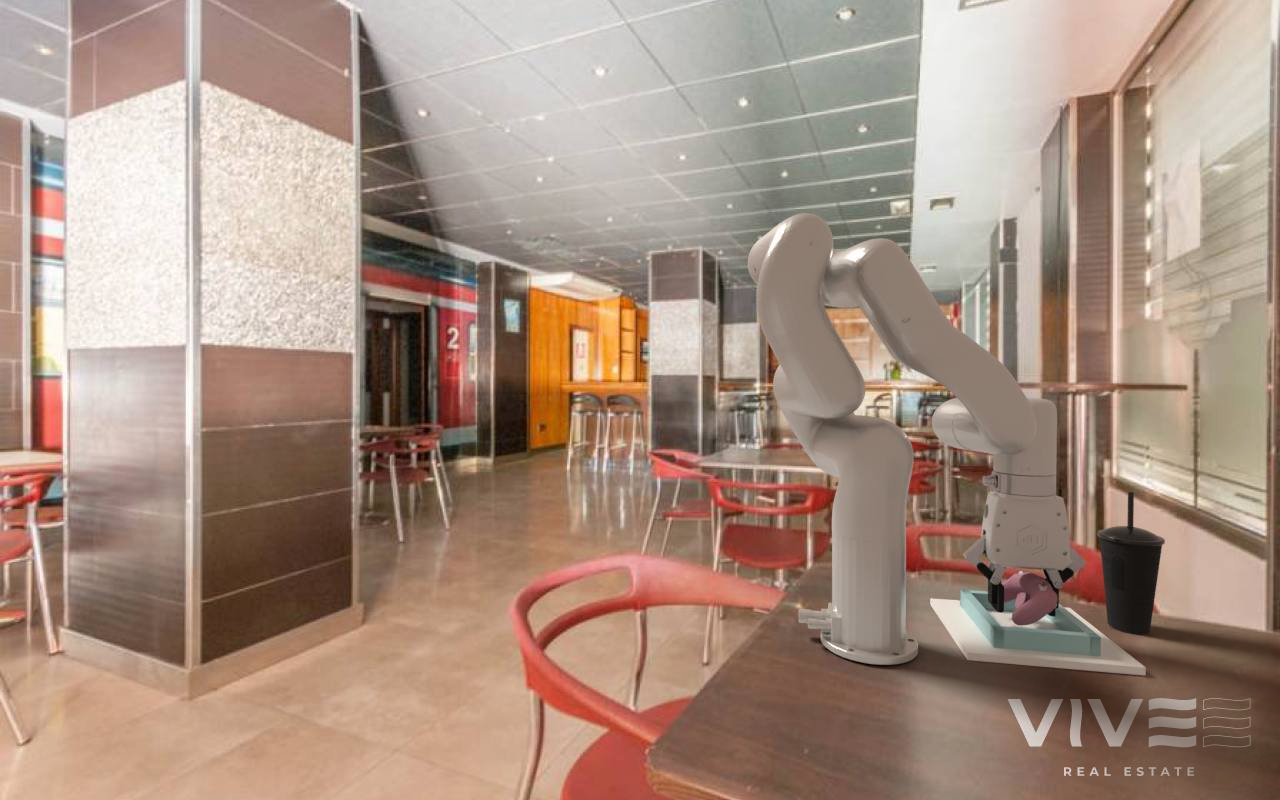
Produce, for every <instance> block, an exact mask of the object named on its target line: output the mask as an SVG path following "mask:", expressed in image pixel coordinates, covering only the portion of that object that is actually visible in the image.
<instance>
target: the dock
mask: <svg viewBox="0 0 1280 800" xmlns="http://www.w3.org/2000/svg"><path fill="white" fill-rule="evenodd" d="M1015 601H1016V599H1014V600H1011V601H1009V602H1006V603H1004V612H1002V613H999V612H997V611H996V610H995V609H994V608H993V607H992V605H991V604H990V603H989V602H988V590H986V591H985V590H972V589H971V590H970V589H960V590H959V600H958V599H943V598H932V597H931V598H930V606H931V607H932V609H933V611H934V612H935V614H936V615H937V617H938V618H939V620H940V621H941V623H942V624H943V626H944V627H945V629H946V630H947V633H949V635H950V637H951V638H952V639H953V640H954V642H955V643H956V645H957V646H958V649H959V650H960V651H961V653H962V654H963V655H964V656H963V657H965V658H966V660H967V661H973V662H984V663H985V662H986V663H995V664H997V663H998V664H1007V665H1008V664H1009V665H1018V666H1019V665H1020V666H1032V667H1040V668H1041V667H1043V668H1054V669H1065V670H1078V671H1085V672H1086V671H1088V672H1098V673H1099V672H1101V673H1110V674H1124V675H1134V676H1135V675H1136V676H1145V677H1146V676H1147V674H1146V671H1147V668H1146V666H1145V665H1143V664H1142V663H1140V662H1139V661H1138V660H1137V659H1135V658H1134V657H1133V656H1132V655H1130V654H1129V653H1128V652H1126V651H1125V650H1124V649H1123V648H1122V647H1120V646H1119V645H1118V644H1116V643H1115V642H1114V641H1112V640H1111V639H1110V638H1109V637H1107V636H1106V635H1105V634H1104V633H1103V632H1101V631H1100V630H1099V629H1097V628H1096V627H1095V626H1094V625H1092V624H1091V623H1090V622H1089V621H1087V620H1086V619H1084V618H1083V617H1082V616H1081V615H1079V614H1078V612H1076V611H1074V610H1073V609H1072V608H1071V607H1066V606H1065V607H1064V606H1063V605H1061V604H1060V603H1059V607H1058V609H1056V614H1055V616H1050V615H1048V614H1046V615H1045V616H1044V617H1043V618H1041V619H1040V620H1039V621H1037V622H1035V623H1033V624H1030V625H1022V626H1020V625H1016V624H1015V623H1014V622H1013V621H1012V614H1013V612H1014V611H1015V610H1016V609H1017V608H1016V607H1015Z"/></svg>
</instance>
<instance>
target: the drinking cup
mask: <svg viewBox="0 0 1280 800" xmlns="http://www.w3.org/2000/svg"><path fill="white" fill-rule="evenodd" d="M1134 502H1135V493H1134V492H1133V491H1128V492H1127V519H1126V520H1127V521H1126V522H1127V523H1126V525H1117V526H1111V527H1107V528H1104V529H1099V530H1097V531H1096V532H1097V534H1096V535H1097V537H1099V543H1100V544H1099V545H1100V556H1101V566H1102V574H1103V575H1102V577H1103V578H1102V579H1103V586H1104V587H1103V588H1104V597H1105V609H1106V620H1107V621H1106V622H1107V625H1108V624H1109V625H1110V626H1112V627H1113V629H1114V628H1115V629H1114V630H1116V629H1118V630H1117V631H1119V630H1121V631H1120V632H1123V631H1124V633H1127V632H1128V634H1132V633H1133V634H1134V635H1147V634H1150V632H1151V627H1152V626H1151V625H1152V620H1153V619H1152V618H1153V612H1154V605H1155V599H1156V593H1157V592H1156V591H1157V585H1158V584H1157V583H1158V577H1159V576H1158V575H1159V571H1160V562H1161V554H1162V549H1163V546H1164V545H1165V544H1166V541H1165V538H1164V537H1162V536H1160V535H1158V534H1155V533H1153V532H1152V531H1149V530H1146V529H1144V528H1139V527H1135V526H1134V518H1135V517H1134V515H1135V514H1134V507H1135V506H1134V505H1135V503H1134ZM1109 625H1108V626H1109ZM1110 626H1109V627H1110ZM1112 627H1111V628H1112ZM1133 634H1132V635H1133Z"/></svg>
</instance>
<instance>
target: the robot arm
mask: <svg viewBox="0 0 1280 800" xmlns="http://www.w3.org/2000/svg"><path fill="white" fill-rule="evenodd" d="M747 270H748V273H749V276H750V277H751V280H752V281H754V284H756V285H757V289H756V290H757V291H756V311H757V317H758V321H759V325H760V327H761V330H762V333H763V335H764V337H765V339H766V341H767V343H768V345H769V346H770V348H771V350H772V352H773V354H774V356H775V358H776V360H777V362H778V364H779V365H778V367H777V368H776V370H775V372H774V376H773V382H772V387H773V388H772V389H773V395H774V397H775V401H776V402H777V403H776V404H777V406H778V407H779V409H780V411H781V413H782V415H783V417H784V418H785V420H786V421H787V423H788V425H789V426H790V428H791V429H792V431H793V433H794V434H795V436H796V438H797V440H798V442H799V443H800V445H801V446H802V447H803V449H804V452H805V453H806V454H807V455H808V457H809V459H810V460H811V461H812V463H813V464H814V465H815V466H816V467H817V468H818V469H820V470H821V471H822V472H824V473H825V474H826V473H827V474H828V475H830V476H833V477H836V478H838V483H837V485H836V486H837V487H836V491H835V495H834V498H833V503H832V510H831V513H832V514H831V548H832V549H831V558H832V559H831V566H832V567H831V574H832V575H831V602H828V604H827V605H828V607H827V608H821V609H820V610H812V609H808V608H806V609H805V608H798V623H799V624H807V629H811V630H820V641H821V644H822V645H823V646H824V648H826V649H828V650H829V651H830V652H832V653H833V654H835V655H837V656H839V657H841V658H844V659H847V660H850V661H853V662H859V663H863V664H868V665H878V666H891V665H893V666H894V665H899V664H905V663H908V662H910V661H912V660H914V659H915V658H916V657H917V655H918V654H919V644H918V641H917V639H916V638H915V637H914V636H913V635H911V633H909V632H907V629H906V628H907V627H906V622H907V621H906V620H907V619H906V615H907V614H906V612H907V611H906V608H907V605H906V604H907V603H906V602H907V601H906V600H907V599H906V598H907V591H906V590H907V587H906V585H907V578H906V577H907V535H906V534H907V532H906V531H907V528H906V527H907V504H908V502H907V501H908V495H909V489H910V483H911V479H912V473H913V468H914V456H915V455H914V454H915V453H914V449H913V445H912V443H911V440H910V438H909V436H908V434H906V432H905V431H904V430H903V429H902V428H901V427H900V426H898V425H897V424H896V423H895V422H892V421H890V420H887V419H885V418H881V417H879V416H878V417H877V416H869V415H860V414H856V413H854V412H855V411H857V410H858V409H859V408H860V407H861V406H862V404H863V402H864V399H865V396H866V383H865V379H864V377H863V374H862V372H861V370H860V368H859V367H858V365H857V363H856V362H855V360H854V358H853V356H852V355H851V353H850V352H849V350H848V348H847V347H846V345H845V343H844V342H843V340H842V338H841V337H840V335H839V333H838V331H837V330H836V328H835V326H834V325H833V322H832V320H831V318H830V317H829V314H828V311H827V309H826V306H828V307H833V308H840V309H852V308H856V307H859V309H860V310H861V312H862V313H863V315H864V316H865V318H866V320H867V321H868V322H869V324H870V326H871V327H872V328H873V330H874V331H875V332H876V334H877V336H878V337H879V339H880V341H881V342H882V344H883V345H884V347H885V349H886V350H887V351H888V353H889V355H890V356H891V357H892V358H893V359H894V360H896V362H898V363H900V364H901V365H903V366H904V367H907V368H909V369H911V370H913V371H915V372H917V373H919V374H922V375H924V376H926V377H928V378H930V379H932V380H934V381H935V382H937V383H938V384H940V385H941V386H943V387H944V388H946V389H947V390H948V391H949V392H950V393H951V394H952V395H953V396H955V397H954V398H952V399H948V400H946V401H943V402H942V403H941V404H940V405H938V407H937V408H936V409H935V410H934V413H933V415H932V419H931V427H932V430H933V433H934V435H935V436H936V438H938V440H939V441H941V442H942V443H943V444H945V445H947V446H949V447H952V448H955V449H959V450H966V451H969V452H970V451H971V452H978V453H985V454H990V455H993V470H992V471H991V474H990V475H987V476H986V475H983V476H982V479H981V480H982V485H983V486H989V487H991V489H992V490H993V491H989V492H988V493H987V494H988V495H987V497H986V501H985V506H984V511H983V516H982V517H983V518H982V526H981V536H980V538H978V539H977V540H976V541H975V542H974V543H973V544H972V545H970V546H969V548H967V549H966V550H965V551H964V552H963V553H962V555H963V557H964V558H965V559H966V561H968V562H969V563H970V564H971V565H972V566H973V567H974V568H976V569H977V570H978V571H979V572H980V573H981V575H983V576H984V577H985V578H986V579H987V591H988V602H989V603H990V604H991V605H992V607H993V608H994V609H995V610H996V611H997V612H999V613H1002V612H1004V586H1003V585H1002V578H1003V576H1004V573H1005V571H1006V570H1007V568H1013V569H1027V570H1041V572H1042V573H1043V576H1044V577H1043V578H1044V579H1045V580H1047V581H1048V583H1049V584H1050V585H1051V587H1052V589H1053V591H1054V592H1055V593H1056V594H1057V598H1058V599H1057V606H1056V608H1054V609H1053V611H1052V612H1050V613H1049V614H1048V615H1050V616H1055V614H1056V609H1058V607H1059V604H1060V603H1059V601H1060V589H1062V588H1063V587H1064V583H1066V582H1067V581H1069V580H1070V579H1071V578H1072V577H1073V576H1074V574H1075V573H1078V571H1080V570H1081V569H1083V568H1084V567H1085V566H1086V565H1087V561H1086V560H1085V559H1084V558H1083V557H1082V556H1081V555H1080V554H1079V553H1078V552H1077V551H1076V550H1075V549H1074V548H1073V547H1072V546H1071V540H1070V539H1071V538H1070V530H1069V522H1068V521H1069V520H1068V515H1067V509H1066V504H1065V500H1064V497H1062V496H1058V495H1057V461H1058V460H1057V458H1058V457H1057V451H1058V450H1057V448H1058V447H1057V446H1058V445H1057V443H1058V440H1057V439H1058V435H1057V434H1058V409H1057V406H1056V404H1055V402H1053V401H1052V400H1049V399H1045V398H1030V397H1029V398H1028V397H1027V396H1026V395H1025V392H1024V391H1023V390H1022V388H1021V385H1019V383H1018V382H1017V380H1016V379H1015V378H1014V376H1013V374H1012V373H1011V371H1009V369H1008V368H1007V367H1006V366H1005V365H1004V364H1003V363H1002V362H1001V361H1000V360H999V359H998V358H996V357H995V355H993V354H991V352H989V351H988V350H987V349H985V348H984V347H982V346H981V345H980V344H979V343H978V342H976V341H975V340H974V339H972V338H971V337H970V336H968V335H967V334H966V333H964V332H962V331H961V330H959V329H958V328H956V327H955V326H954V325H953V323H951V321H950V319H948V317H947V315H946V314H945V313H944V310H942V307H941V306H940V305H939V303H938V302H937V300H936V299H935V296H934V295H933V293H932V292H931V291H930V289H929V288H928V286H927V284H926V283H925V281H924V280H923V278H922V276H920V274H919V272H918V270H917V269H916V267H915V266H914V264H913V263H912V261H911V260H910V258H909V257H908V255H907V254H906V252H905V251H904V249H903V247H902V246H900V245H899V244H898V243H896V242H895V241H893V240H891V239H889V238H883V237H882V238H881V237H880V238H871V239H867V240H864V241H862V242H859V243H857V244H855V245H852V246H851V247H849V248H846V249H843V250H842V249H835V248H834V238H833V233H832V230H831V228H830V226H829V225H828V223H827V222H826V221H825V220H824V219H823V218H822V217H821V216H819V215H817V214H814V213H807V212H803V213H798V214H794V215H792V216H789V217H787V218H786V219H784V220H782V221H781V222H780V223H777V225H775V226H774V227H773V228H772V229H771V230H770V231H768V232H767V233H766V234H764V235H763V236H761V237H760V238H759V239H758V240H757V241H756V242H755V243H754V245H752V247H751V249H750V251H749V253H748V257H747ZM981 554H982V555H983V556H984V557H986V558H987V559H988V561H989V563H988V564H987V565H986V564H985V563H984V562H983V561H982V560H981V559H980V557H979V556H980V555H981Z"/></svg>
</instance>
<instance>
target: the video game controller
mask: <svg viewBox="0 0 1280 800" xmlns="http://www.w3.org/2000/svg"><path fill="white" fill-rule="evenodd" d="M1001 584H1002V585H1003V586H1004V603H1006V602H1009V601H1011V600H1014V599H1016V601H1015V607H1016V608H1017V609H1016V610H1015V611H1014V612H1013V614H1012V621H1013V622H1014V623H1015V624H1016V625H1020V626H1022V625H1030V624H1033V623H1035V622H1037V621H1039V620H1040V619H1041V618H1043V617H1044V616H1045V615H1046V614H1049V613H1050V612H1052V611H1053V609H1054V608H1056V606H1057V599H1058V598H1057V594H1056V593H1055V592H1054V591H1053V589H1052V587H1051V585H1050V584H1049V583H1048V581H1047V580H1045V577H1042V576H1040V575H1038V574H1035V573H1032V572H1024V571H1023V570H1020V571H1018V573H1014V574H1013V575H1011V576H1010V577H1009V578H1008V579H1006V580H1005V581H1004V582H1003V583H1002V582H1001Z"/></svg>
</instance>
